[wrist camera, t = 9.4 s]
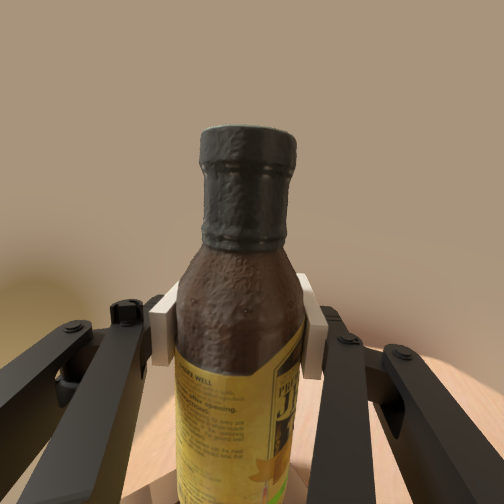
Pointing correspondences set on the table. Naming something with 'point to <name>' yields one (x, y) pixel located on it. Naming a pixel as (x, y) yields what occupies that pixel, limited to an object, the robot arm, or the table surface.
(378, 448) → the table surface
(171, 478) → the crate
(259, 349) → the sauce bottle
